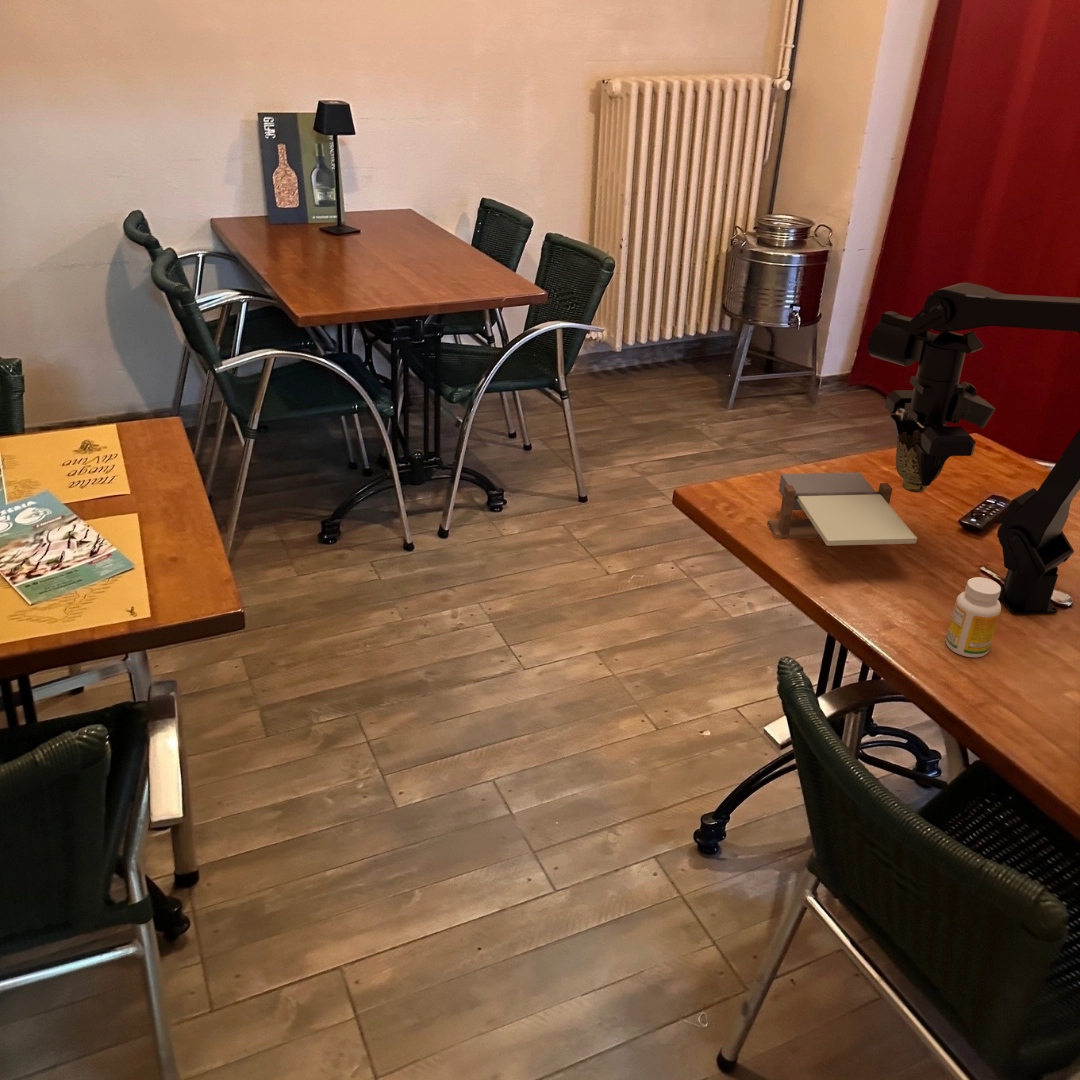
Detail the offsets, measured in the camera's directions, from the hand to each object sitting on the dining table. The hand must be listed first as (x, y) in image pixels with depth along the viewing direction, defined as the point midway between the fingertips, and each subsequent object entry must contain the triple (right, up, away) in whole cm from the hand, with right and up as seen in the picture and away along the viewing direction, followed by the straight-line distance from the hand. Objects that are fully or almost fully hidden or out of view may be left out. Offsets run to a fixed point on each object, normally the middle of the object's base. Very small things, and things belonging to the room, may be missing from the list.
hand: (916, 475), depth 146 cm
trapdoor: (-10, -7, +5) cm, 13 cm away
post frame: (-10, -8, +11) cm, 17 cm away
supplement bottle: (0, -24, -17) cm, 29 cm away
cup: (0, -2, +1) cm, 2 cm away
